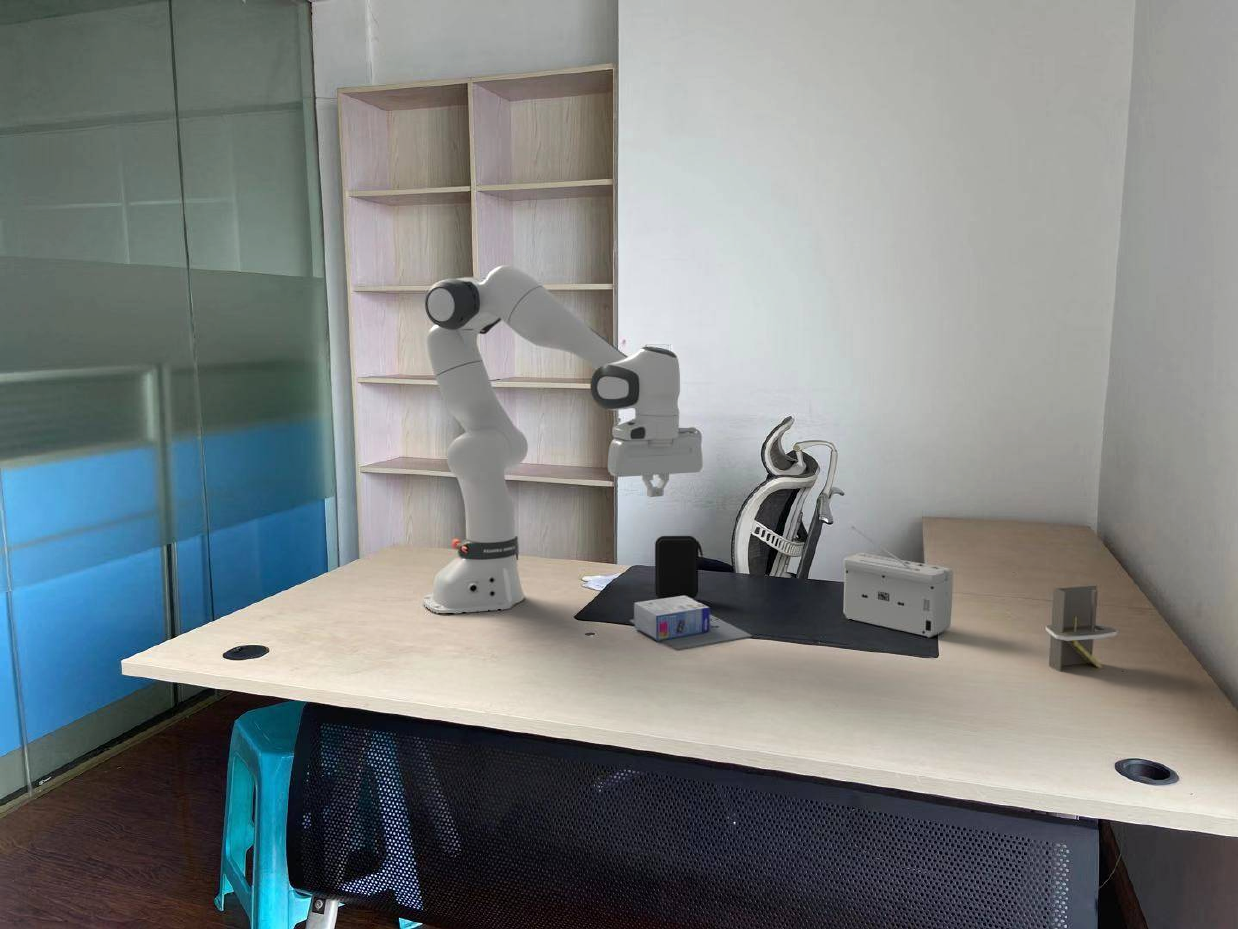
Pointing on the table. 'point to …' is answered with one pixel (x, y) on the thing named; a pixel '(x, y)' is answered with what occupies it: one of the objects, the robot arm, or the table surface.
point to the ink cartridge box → (671, 617)
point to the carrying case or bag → (676, 566)
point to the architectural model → (1075, 626)
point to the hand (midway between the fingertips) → (655, 496)
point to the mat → (707, 636)
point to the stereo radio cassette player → (897, 593)
